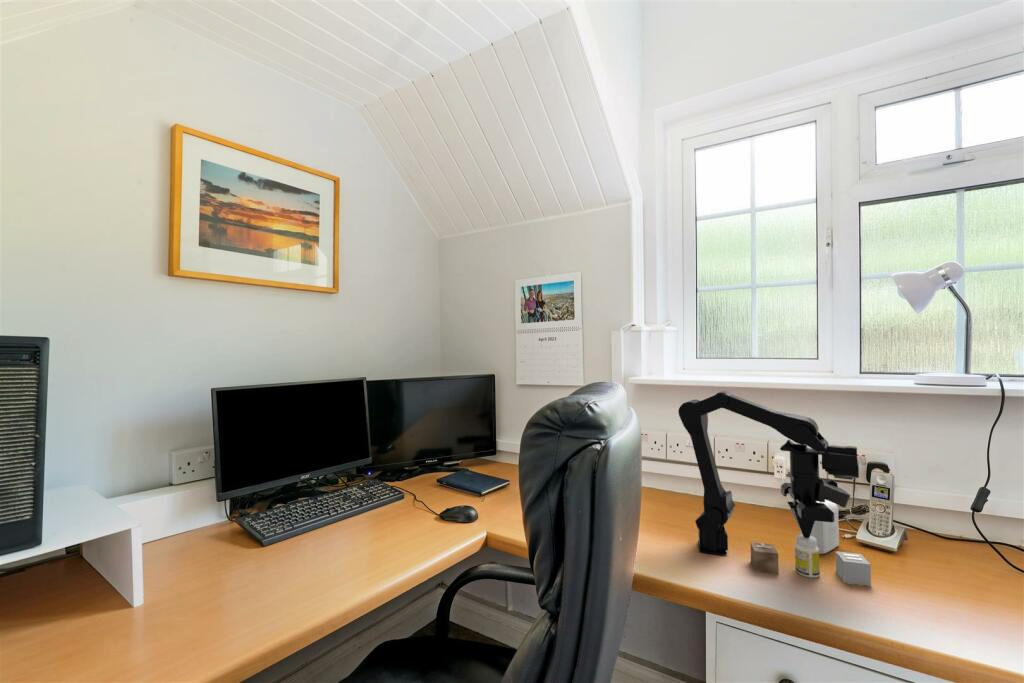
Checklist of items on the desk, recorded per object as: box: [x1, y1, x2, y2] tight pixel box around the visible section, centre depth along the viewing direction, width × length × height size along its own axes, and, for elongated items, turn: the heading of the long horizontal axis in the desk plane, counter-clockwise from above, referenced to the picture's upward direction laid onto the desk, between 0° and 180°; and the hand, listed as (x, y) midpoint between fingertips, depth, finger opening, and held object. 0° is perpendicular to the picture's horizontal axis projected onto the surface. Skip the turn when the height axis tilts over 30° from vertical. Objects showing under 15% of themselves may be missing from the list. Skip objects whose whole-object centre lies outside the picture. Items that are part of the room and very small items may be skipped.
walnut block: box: [749, 541, 780, 575], centre depth 108 cm, size 5×5×5 cm
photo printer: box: [810, 500, 840, 555], centre depth 117 cm, size 10×4×12 cm, turn 123°
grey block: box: [835, 550, 872, 587], centre depth 102 cm, size 5×5×5 cm
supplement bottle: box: [794, 533, 821, 579], centre depth 105 cm, size 5×5×8 cm
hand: (806, 537), depth 105 cm, fingers closed
